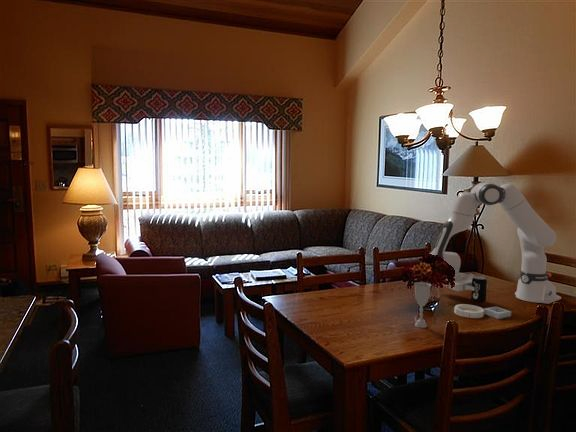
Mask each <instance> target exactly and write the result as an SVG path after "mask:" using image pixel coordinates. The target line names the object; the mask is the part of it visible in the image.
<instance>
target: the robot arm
mask: <svg viewBox="0 0 576 432" xmlns="http://www.w3.org/2000/svg"><path fill="white" fill-rule="evenodd" d="M497 204H499V205H501V207H502V209H503V210H504V212H505V213H506V214H507V216H508V217H509V219H510V220H511V221H512V223H513V224H514V225H516V226H517V230H516V234H517V236H518V239H519V245H520V251H521V268H520V271H519V279H518V282H517V286H516V291H515V292H514V295H515V298H517V299H519V300H522V301H525V302H530V303H539V304H540V303H541V304H553V303H554V302H556V301H560V300H561V299H562V296H560V295H558V294H557V287H556V286H555V285H554V284H553V283H551V282H550V280H549V278H551V277H552V273H550V272H547V263H548V262H547V261H548V259H547V255H546V253H545V250H544V248H549V247H552V246H553V245H554V244H555V243H556V240H557V234H556V232H555V230H553V229H552V228H551V227H550V226H549V225H548V224H547V223H546V222H545V220H544V219H542V217H541V216H540V215H539V214H538V213H537V212H536V211H535V210H534V208H533V207H532V206H531V205H530V203H529V201H528V200H527V199H526V197H525V196H524V194H523V193H522V192H521V191H520V190H519V188H517V187H516V186H515V185H514V184H512V183H504V184H502V185H500V186H499V185H497V184H494V183H491V182H486V181H479V182H477V183H475V184H474V185H473V186H472V187H471V188H470V190H469V191H463V192H460V193H459V194H458V195H457V197H456V198H455V201H454V203H453V206H452V209H451V213H450V215H449V216H448V218H447V220H446V221H445V222H444V223H443V224H442V226H441V227H440V230H439V232H438V235H437V236H436V239H435V241H434V244H433V246H432V247H431V250H430V251H429V253H428V254H432V255H440V257H441V258H442V259H443V260H444V261H446V262H447V263H448V264H449V265H451V266H452V267H453V268H454V270H455V281H454V283H455V287H453V288H451V285H450V284H449V285H443V286H444V287H448V289H450V290H453V291H455V292H462V291H471V292H472V291H474V290H476V287H474V286H472V279H473V276H474V274H473V273H472V272H471V273H470V272H469V273H467V272H464V273H463V272H460V269H461V264H462V259H461V256H460V255H459V254H458V253H457V252H453V251H446V248H447V245H448V243H449V241H450V239H451V238H452V237H453V236H454V235H456V234H458V233H460V232H464V231H466V230H468V229H470V227H471V226H472V224H473V221H474V219H475V214H476V210H477V208H478V207H479V206H480V205H486V206H494V205H497ZM488 287H489V285H488V284H487V289H488Z"/></svg>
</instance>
